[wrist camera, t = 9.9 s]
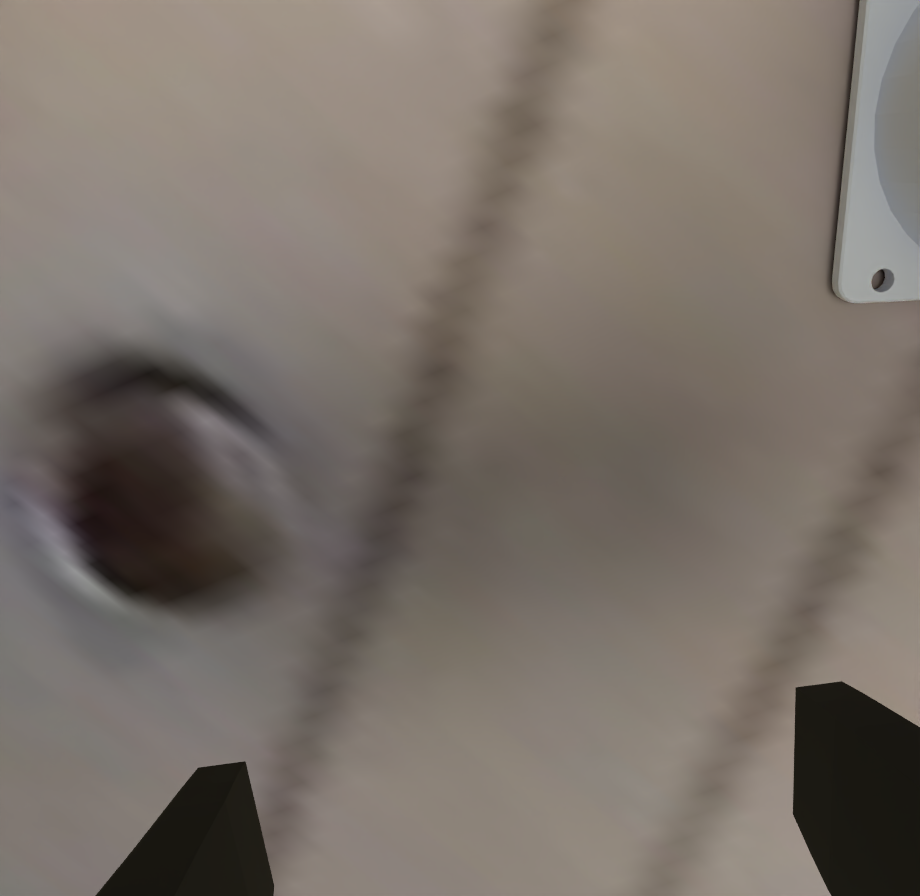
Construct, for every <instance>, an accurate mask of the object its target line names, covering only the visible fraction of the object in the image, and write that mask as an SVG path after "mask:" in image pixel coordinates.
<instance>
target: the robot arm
mask: <svg viewBox="0 0 920 896" xmlns="http://www.w3.org/2000/svg"><path fill="white" fill-rule="evenodd" d="M881 269H882V270H883V271H884V272H885V279H884V282H883V284H882V285H881V286H880V287H879V288H877V289H873V288H872V284H871V280H872V277H873V275H874V274H875V273H876V272H877V271H878V270H881ZM832 286H833V290H834V292H835V294H836V296H838V297H839V298H841V299H842V300H844V301H847V302H851V303H857V304H858V303H876V302H895V301H914V300H920V0H860V3H859V13H858V23H857V34H856V44H855V54H854V64H853V74H852V84H851V94H850V104H849V114H848V124H847V134H846V144H845V155H844V165H843V175H842V185H841V195H840V205H839V215H838V225H837V235H836V245H835V255H834V265H833V275H832ZM793 815H794V817H795V819H796V822H797V824H798V826H799V828H800V831H801V833H802V835H803V837H804V840H805V842H806V844H807V846H808V849H809V851H810V853H811V855H812V857H813V859H814V861H815V864H816V866H817V868H818V870H819V872H820V874H821V876H822V878H823V880H824V882H825V884H826V886H827V889H828V891H829V892H830V894H831V896H920V727H918V726H917V725H915V724H913V723H912V722H910V721H908V720H907V719H905V718H903V717H902V716H900V715H898V714H897V713H895V712H893V711H892V710H890V709H888V708H887V707H885V706H884V705H882V704H880V703H879V702H877V701H875V700H874V699H872V698H870V697H868V696H867V695H865V694H863V693H862V692H860V691H858V690H856V689H855V688H853V687H851V686H849V685H847V684H845V683H844V682H842V681H841V682H834V683H826V684H819V685H812V686H804V687H797V688H796V702H795V748H794V793H793ZM273 893H274V883H273V879H272V874H271V870H270V866H269V861H268V857H267V853H266V849H265V844H264V840H263V836H262V831H261V827H260V823H259V818H258V814H257V810H256V805H255V801H254V797H253V792H252V788H251V784H250V779H249V775H248V771H247V766H246V762H238V763H230V764H223V765H215V766H208V767H201V768H198V769H197V770H196V771H195V772H194V774H193V775H192V776H191V777H190V778H189V780H188V781H187V782H186V783H185V785H184V786H183V787H182V788H181V789H180V791H179V792H178V793H177V794H176V796H175V797H174V798H173V800H172V801H171V802H170V803H169V805H168V806H167V807H166V809H165V810H164V811H163V812H162V814H161V815H160V816H159V817H158V819H157V820H156V821H155V823H154V824H153V825H152V826H151V828H150V829H149V830H148V832H147V833H146V834H145V835H144V837H143V838H142V839H141V840H140V842H139V843H138V844H137V845H136V847H135V848H134V849H133V851H132V852H131V853H130V854H129V856H128V857H127V858H126V859H125V860H124V862H123V863H122V864H121V865H120V867H119V868H118V869H117V870H116V871H115V873H114V874H113V875H112V876H111V877H110V879H109V880H108V881H107V882H106V884H105V885H104V886H103V887H102V888H101V890H100V891H99V892H98V893H97V895H96V896H273Z"/></svg>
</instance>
